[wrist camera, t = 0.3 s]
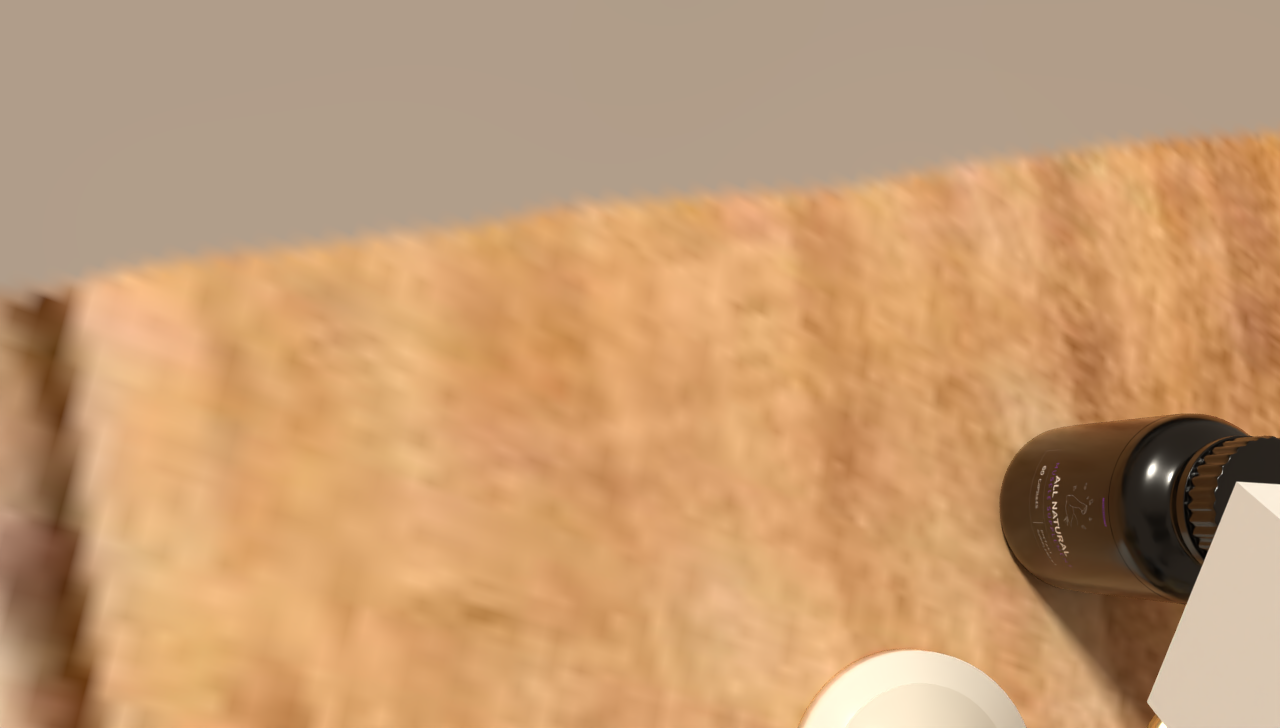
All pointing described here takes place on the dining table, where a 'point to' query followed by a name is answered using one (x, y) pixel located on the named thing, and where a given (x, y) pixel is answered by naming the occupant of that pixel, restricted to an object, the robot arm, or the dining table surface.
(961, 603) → the dining table surface
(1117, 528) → the supplement bottle
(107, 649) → the dining table surface
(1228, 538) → the robot arm
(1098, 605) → the dining table surface
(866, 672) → the dish
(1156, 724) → the balance
